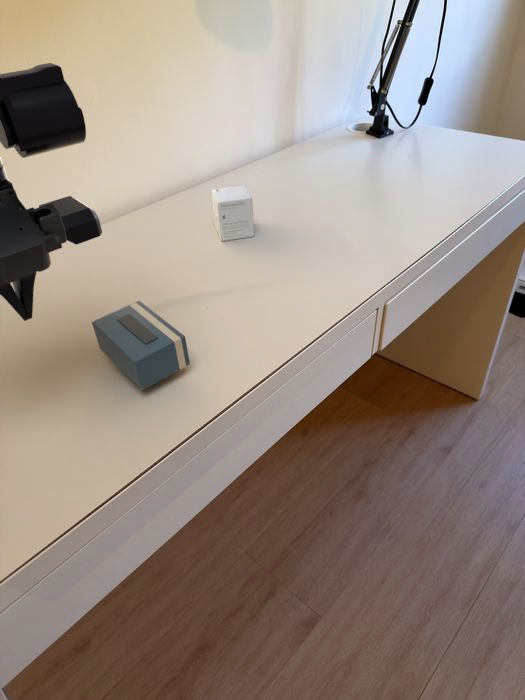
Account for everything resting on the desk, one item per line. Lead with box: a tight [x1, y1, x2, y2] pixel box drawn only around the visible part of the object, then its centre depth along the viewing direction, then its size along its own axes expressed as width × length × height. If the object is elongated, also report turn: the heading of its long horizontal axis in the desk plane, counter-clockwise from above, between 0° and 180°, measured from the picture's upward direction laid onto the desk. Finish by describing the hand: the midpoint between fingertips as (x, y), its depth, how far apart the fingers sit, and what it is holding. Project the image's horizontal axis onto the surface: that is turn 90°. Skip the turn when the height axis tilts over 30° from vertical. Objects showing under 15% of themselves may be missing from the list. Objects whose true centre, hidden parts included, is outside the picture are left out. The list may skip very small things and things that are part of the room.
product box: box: [211, 185, 255, 242], centre depth 93 cm, size 6×6×7 cm
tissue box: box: [91, 300, 191, 391], centre depth 67 cm, size 11×5×7 cm
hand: (27, 318), depth 55 cm, fingers closed
